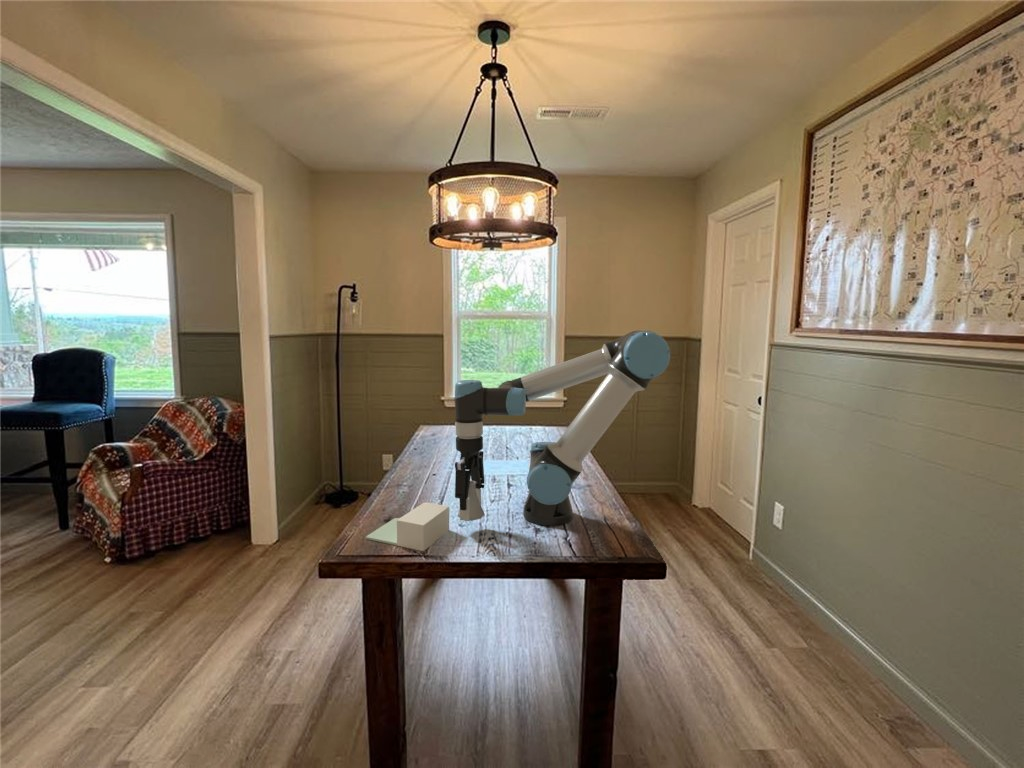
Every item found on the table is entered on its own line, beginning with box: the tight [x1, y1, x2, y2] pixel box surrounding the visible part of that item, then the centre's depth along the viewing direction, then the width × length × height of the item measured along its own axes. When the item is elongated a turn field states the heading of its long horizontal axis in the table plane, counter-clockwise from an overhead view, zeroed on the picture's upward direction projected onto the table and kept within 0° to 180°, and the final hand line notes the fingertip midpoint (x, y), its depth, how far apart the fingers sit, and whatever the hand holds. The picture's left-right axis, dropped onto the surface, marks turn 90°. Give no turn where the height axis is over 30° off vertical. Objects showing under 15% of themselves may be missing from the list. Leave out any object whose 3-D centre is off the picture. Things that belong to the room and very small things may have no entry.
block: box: [396, 501, 450, 552], centre depth 132 cm, size 8×14×7 cm, turn 159°
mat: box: [365, 517, 400, 546], centre depth 135 cm, size 10×14×1 cm
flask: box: [457, 480, 486, 522], centre depth 136 cm, size 7×7×10 cm
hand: (470, 514), depth 137 cm, fingers closed on flask, 7 cm apart
